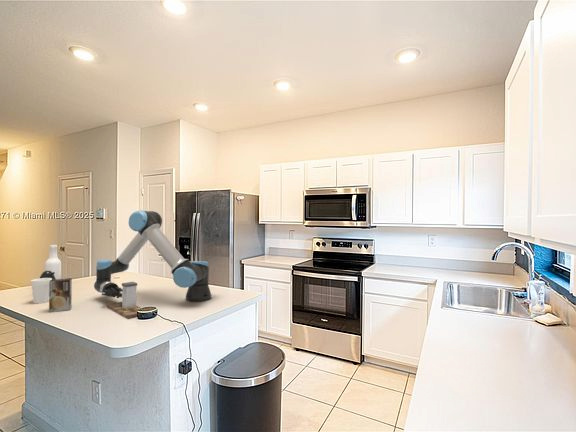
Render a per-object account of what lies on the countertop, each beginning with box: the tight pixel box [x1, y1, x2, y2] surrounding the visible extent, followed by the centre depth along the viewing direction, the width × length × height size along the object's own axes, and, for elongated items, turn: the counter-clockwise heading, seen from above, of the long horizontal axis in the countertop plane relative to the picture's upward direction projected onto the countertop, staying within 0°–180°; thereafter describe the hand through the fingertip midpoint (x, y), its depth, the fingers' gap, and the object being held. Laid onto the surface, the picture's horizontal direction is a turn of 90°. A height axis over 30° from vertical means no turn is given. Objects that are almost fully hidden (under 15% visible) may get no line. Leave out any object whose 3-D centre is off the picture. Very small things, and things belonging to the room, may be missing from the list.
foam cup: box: [30, 277, 52, 305], centre depth 175 cm, size 10×9×13 cm
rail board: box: [106, 301, 143, 320], centre depth 161 cm, size 28×10×2 cm, turn 49°
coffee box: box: [48, 277, 73, 313], centre depth 161 cm, size 9×6×16 cm
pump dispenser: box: [39, 270, 56, 279], centre depth 192 cm, size 10×10×15 cm
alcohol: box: [44, 244, 62, 279], centre depth 206 cm, size 9×9×30 cm
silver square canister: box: [121, 281, 138, 310], centre depth 159 cm, size 6×6×13 cm
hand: (125, 296), depth 161 cm, fingers closed
